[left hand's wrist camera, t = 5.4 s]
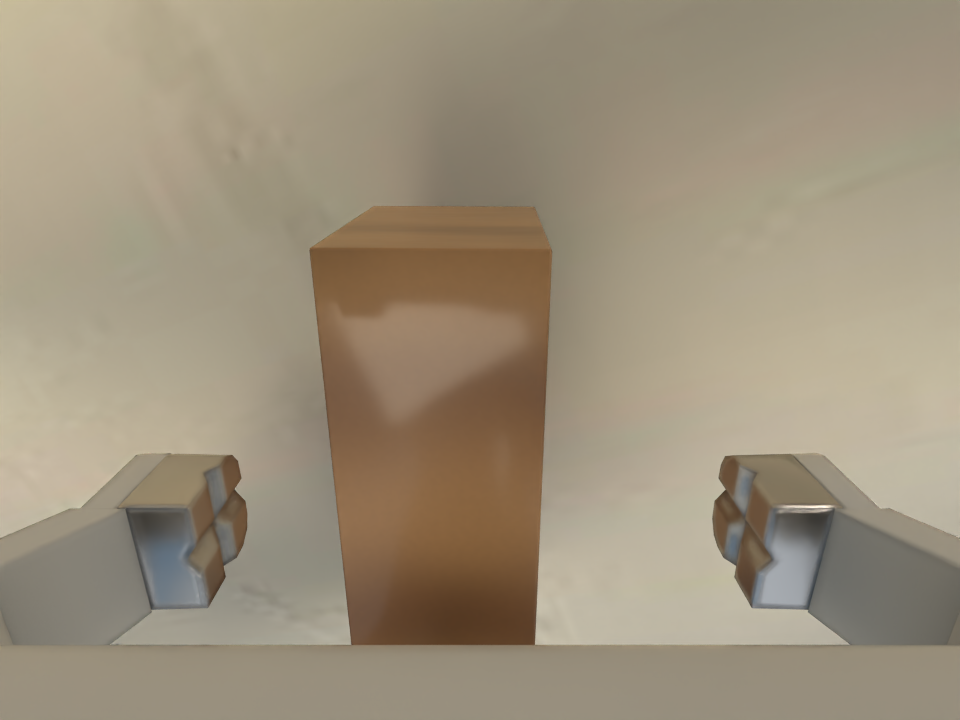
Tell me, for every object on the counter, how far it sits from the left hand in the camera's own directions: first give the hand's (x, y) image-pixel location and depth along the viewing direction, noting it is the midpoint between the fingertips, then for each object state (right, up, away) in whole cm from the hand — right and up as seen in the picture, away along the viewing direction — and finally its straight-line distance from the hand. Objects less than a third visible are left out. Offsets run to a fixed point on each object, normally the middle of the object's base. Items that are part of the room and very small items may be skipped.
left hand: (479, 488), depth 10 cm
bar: (-1, -3, +16) cm, 16 cm away
